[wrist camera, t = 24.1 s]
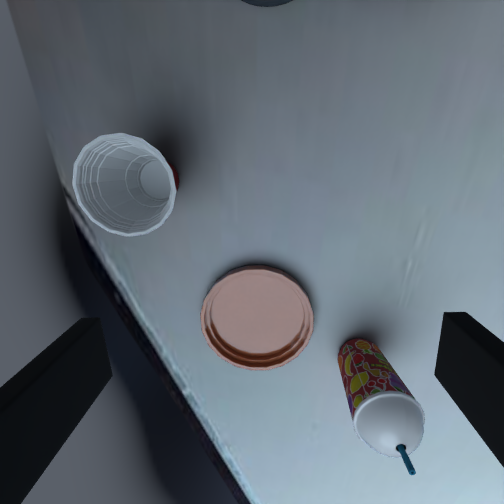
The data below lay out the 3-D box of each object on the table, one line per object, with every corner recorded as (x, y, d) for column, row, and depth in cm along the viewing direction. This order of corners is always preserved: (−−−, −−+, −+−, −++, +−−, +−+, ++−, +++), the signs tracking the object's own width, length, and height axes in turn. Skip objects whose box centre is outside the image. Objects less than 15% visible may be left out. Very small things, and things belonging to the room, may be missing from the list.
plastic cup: (181, 230, 46) (152, 254, 34) (113, 197, 45) (59, 210, 33) (211, 162, 43) (190, 163, 31) (138, 125, 42) (90, 112, 30)
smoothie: (394, 351, 50) (473, 471, 30) (356, 383, 52) (409, 514, 32) (357, 320, 48) (416, 425, 29) (320, 354, 50) (352, 473, 31)
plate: (267, 242, 45) (267, 246, 43) (332, 325, 49) (335, 333, 47) (181, 305, 49) (178, 311, 47) (248, 378, 52) (247, 388, 50)
